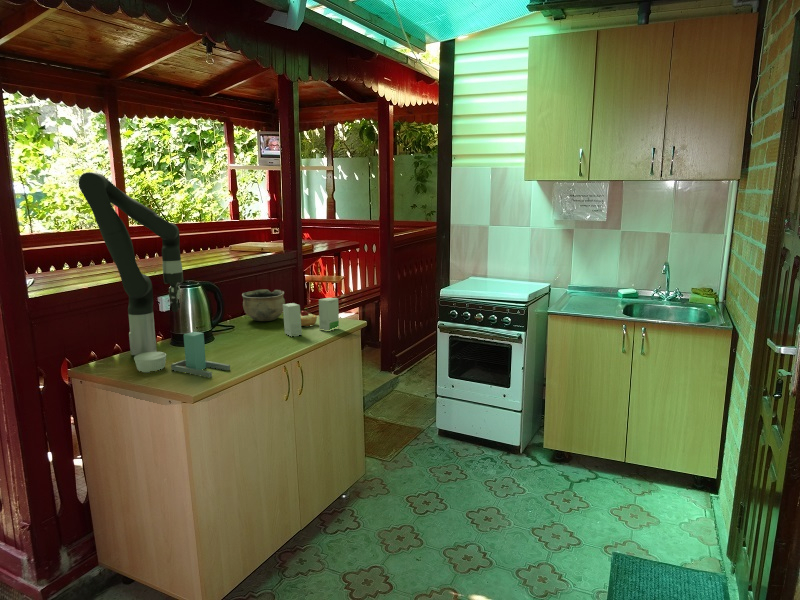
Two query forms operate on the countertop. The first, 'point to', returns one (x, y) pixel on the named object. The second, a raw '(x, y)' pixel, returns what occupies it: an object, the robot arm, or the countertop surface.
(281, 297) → the ceramic bowl
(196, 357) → the teal block
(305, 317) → the pastry
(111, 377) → the countertop surface
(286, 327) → the skincare box
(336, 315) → the skincare box
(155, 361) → the ramekin
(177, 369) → the grey rectangular frame
